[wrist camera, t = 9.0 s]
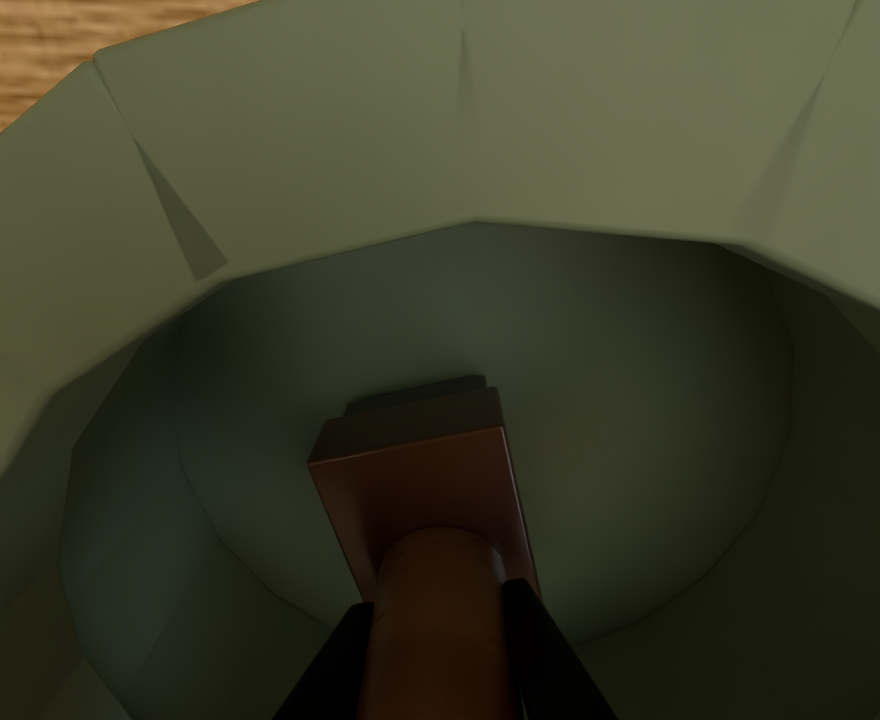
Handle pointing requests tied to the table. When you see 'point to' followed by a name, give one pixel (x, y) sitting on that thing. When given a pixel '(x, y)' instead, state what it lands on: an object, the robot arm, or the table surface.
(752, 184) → the bowl
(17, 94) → the table surface
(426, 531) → the stamp
